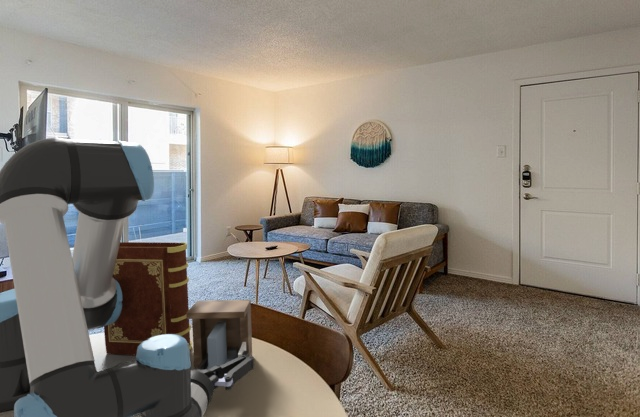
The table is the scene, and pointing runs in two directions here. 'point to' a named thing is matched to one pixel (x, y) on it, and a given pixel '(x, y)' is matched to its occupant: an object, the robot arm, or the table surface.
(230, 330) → the cubby
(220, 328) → the bookend
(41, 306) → the robot arm
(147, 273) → the decorative book
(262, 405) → the table surface
